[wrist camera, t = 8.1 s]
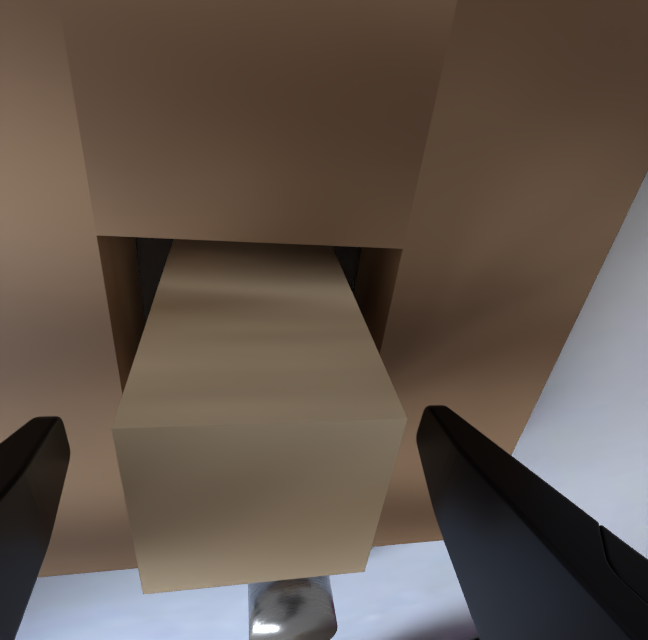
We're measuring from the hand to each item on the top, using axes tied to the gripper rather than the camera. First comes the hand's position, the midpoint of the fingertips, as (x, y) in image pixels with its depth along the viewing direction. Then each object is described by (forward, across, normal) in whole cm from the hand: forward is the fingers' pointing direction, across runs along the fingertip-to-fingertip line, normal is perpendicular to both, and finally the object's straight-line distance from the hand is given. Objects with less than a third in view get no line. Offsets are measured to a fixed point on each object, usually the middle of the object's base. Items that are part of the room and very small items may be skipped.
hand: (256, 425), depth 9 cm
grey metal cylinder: (+5, -2, +14) cm, 15 cm away
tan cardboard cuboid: (+5, 0, 0) cm, 5 cm away
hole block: (+5, 0, 0) cm, 5 cm away
